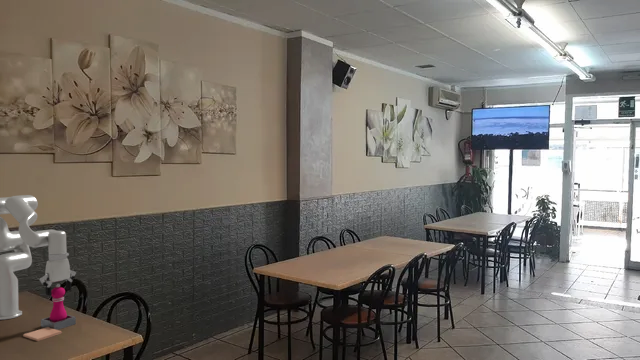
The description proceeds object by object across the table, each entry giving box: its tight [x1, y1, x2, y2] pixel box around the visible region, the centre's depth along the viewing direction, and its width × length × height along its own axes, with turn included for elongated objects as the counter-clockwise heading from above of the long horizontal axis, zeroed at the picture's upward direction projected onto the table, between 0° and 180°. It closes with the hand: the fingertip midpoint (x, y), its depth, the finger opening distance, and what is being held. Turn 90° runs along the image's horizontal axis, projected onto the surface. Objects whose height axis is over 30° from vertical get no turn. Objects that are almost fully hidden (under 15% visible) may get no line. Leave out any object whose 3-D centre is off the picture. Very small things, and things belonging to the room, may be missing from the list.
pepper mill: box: [49, 283, 68, 322], centre depth 229 cm, size 7×7×20 cm
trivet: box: [23, 327, 63, 342], centre depth 217 cm, size 11×11×1 cm
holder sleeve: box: [40, 314, 77, 330], centre depth 229 cm, size 11×11×4 cm
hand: (58, 292), depth 229 cm, fingers open, 9 cm apart
